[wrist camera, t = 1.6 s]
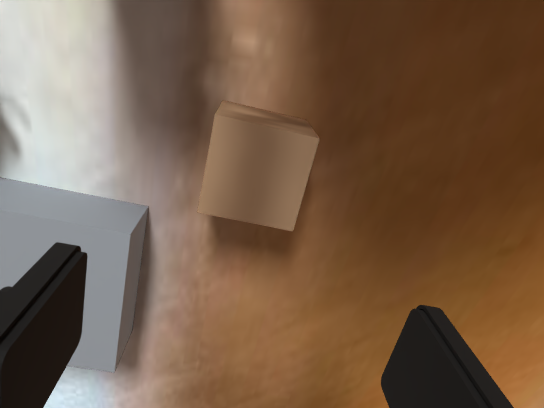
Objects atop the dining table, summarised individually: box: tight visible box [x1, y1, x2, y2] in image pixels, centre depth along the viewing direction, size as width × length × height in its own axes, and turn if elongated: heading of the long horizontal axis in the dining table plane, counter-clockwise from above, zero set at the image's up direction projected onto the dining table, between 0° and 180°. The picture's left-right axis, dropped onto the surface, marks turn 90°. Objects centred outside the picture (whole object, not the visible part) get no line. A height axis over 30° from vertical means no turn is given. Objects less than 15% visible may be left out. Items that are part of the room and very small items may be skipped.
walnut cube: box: [197, 100, 320, 231], centre depth 25 cm, size 6×6×6 cm
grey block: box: [0, 177, 148, 373], centre depth 29 cm, size 12×12×5 cm
